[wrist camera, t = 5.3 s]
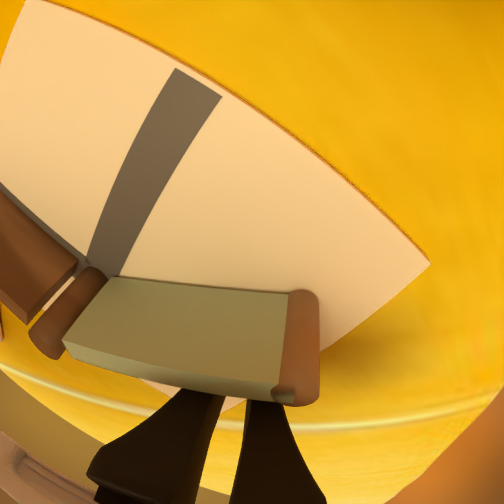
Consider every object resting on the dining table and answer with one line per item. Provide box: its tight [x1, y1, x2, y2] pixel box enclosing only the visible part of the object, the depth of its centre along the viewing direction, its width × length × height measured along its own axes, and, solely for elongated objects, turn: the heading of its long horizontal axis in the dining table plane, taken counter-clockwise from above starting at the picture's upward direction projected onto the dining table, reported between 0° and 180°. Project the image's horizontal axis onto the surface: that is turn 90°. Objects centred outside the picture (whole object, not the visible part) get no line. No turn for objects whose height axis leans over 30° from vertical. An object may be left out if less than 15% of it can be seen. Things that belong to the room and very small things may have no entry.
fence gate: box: [62, 277, 320, 407], centre depth 10 cm, size 9×1×4 cm, turn 91°
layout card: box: [0, 0, 431, 413], centre depth 12 cm, size 16×20×1 cm
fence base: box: [0, 190, 109, 360], centre depth 10 cm, size 2×11×4 cm, turn 54°
